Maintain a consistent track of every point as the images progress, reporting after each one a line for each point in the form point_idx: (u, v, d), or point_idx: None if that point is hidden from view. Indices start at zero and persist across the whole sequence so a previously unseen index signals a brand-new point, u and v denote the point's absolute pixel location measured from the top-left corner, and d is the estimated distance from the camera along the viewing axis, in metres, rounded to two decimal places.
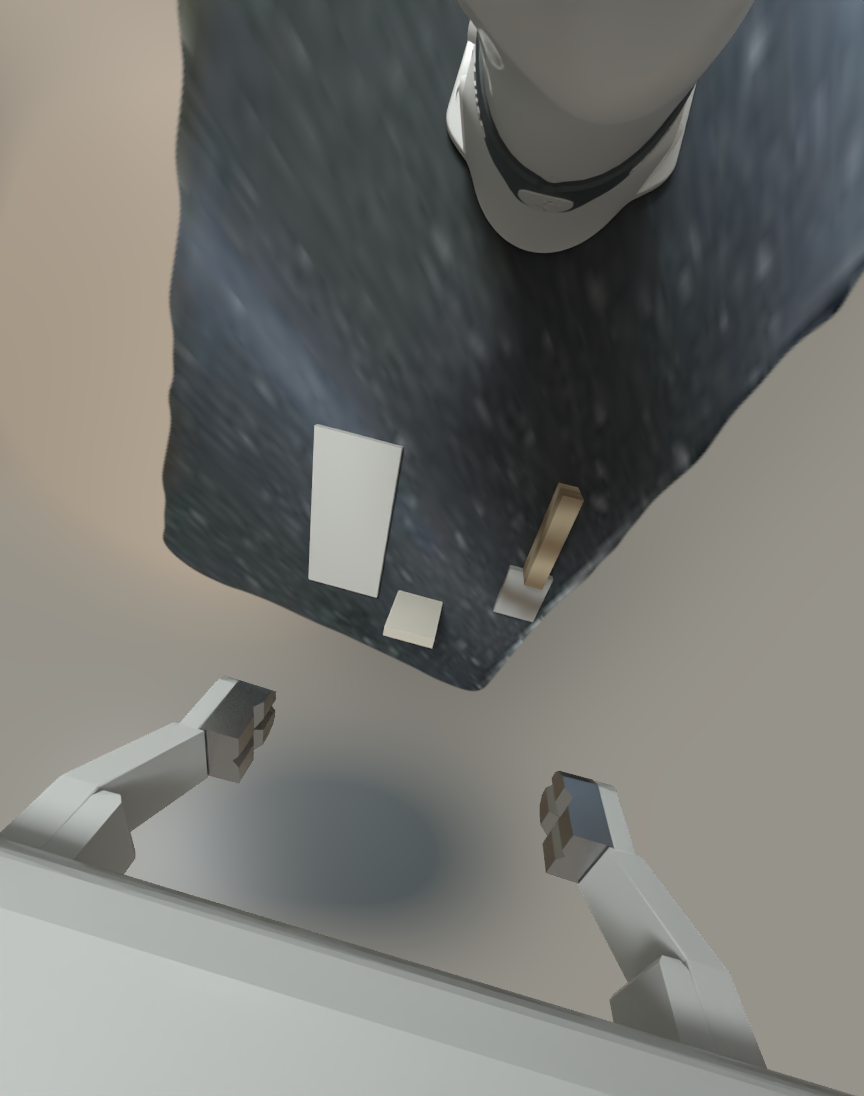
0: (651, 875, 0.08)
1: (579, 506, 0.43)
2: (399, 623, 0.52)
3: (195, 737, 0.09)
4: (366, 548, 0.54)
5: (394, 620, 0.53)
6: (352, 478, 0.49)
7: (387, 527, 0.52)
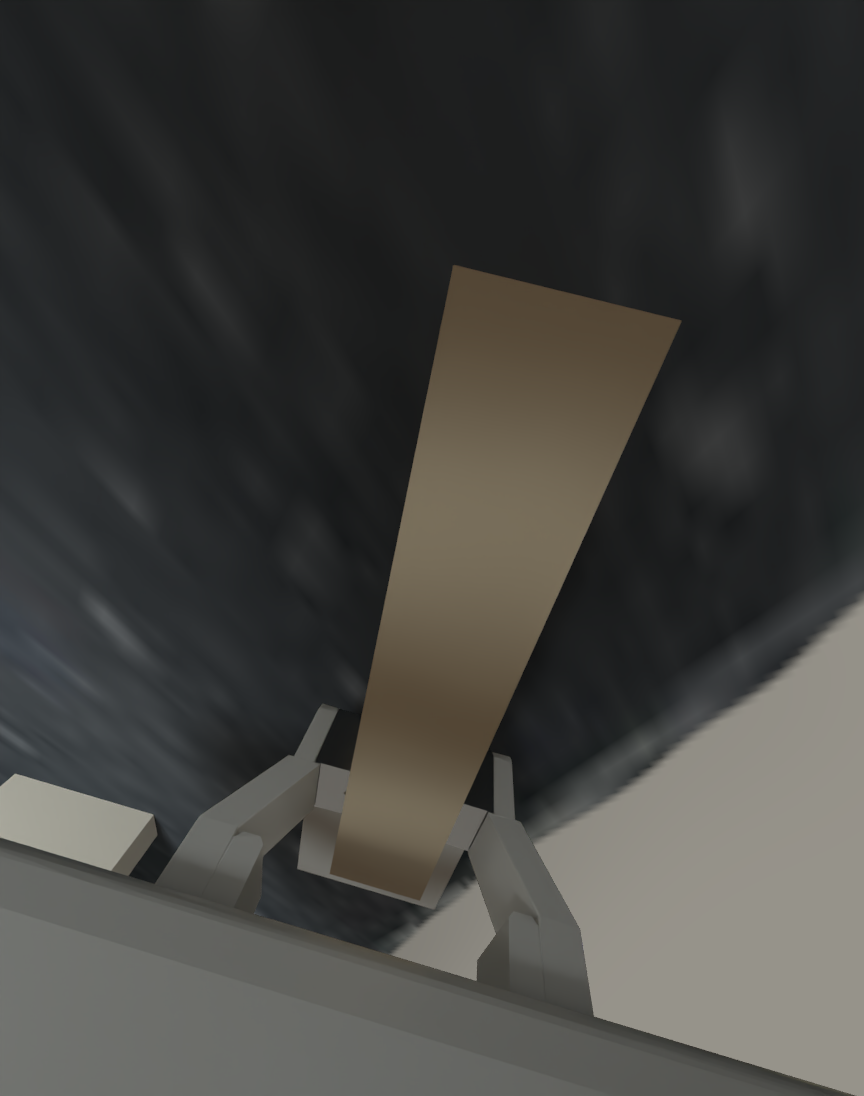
0: (527, 839, 0.08)
1: (629, 395, 0.04)
2: None
3: (311, 771, 0.09)
4: None
5: None
6: None
7: None
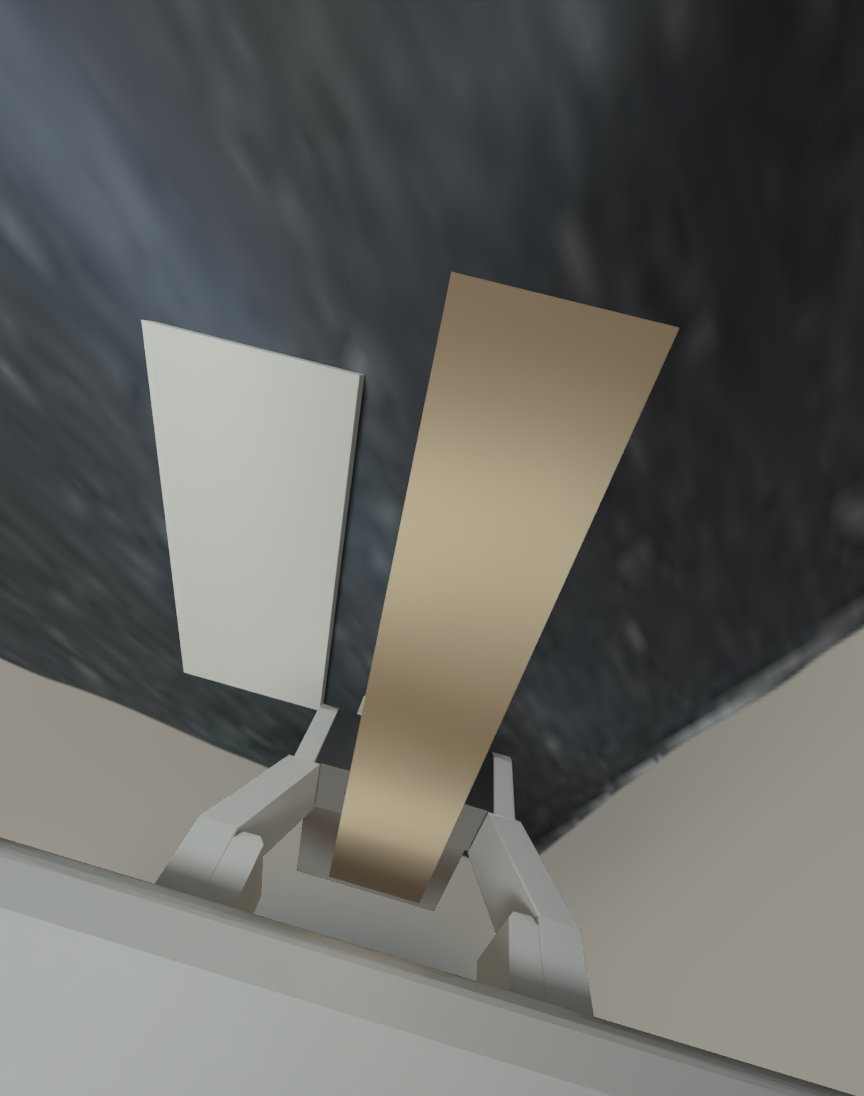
0: (527, 839, 0.08)
1: (627, 401, 0.04)
2: None
3: (311, 771, 0.09)
4: (292, 615, 0.25)
5: None
6: (247, 458, 0.21)
7: (333, 572, 0.23)
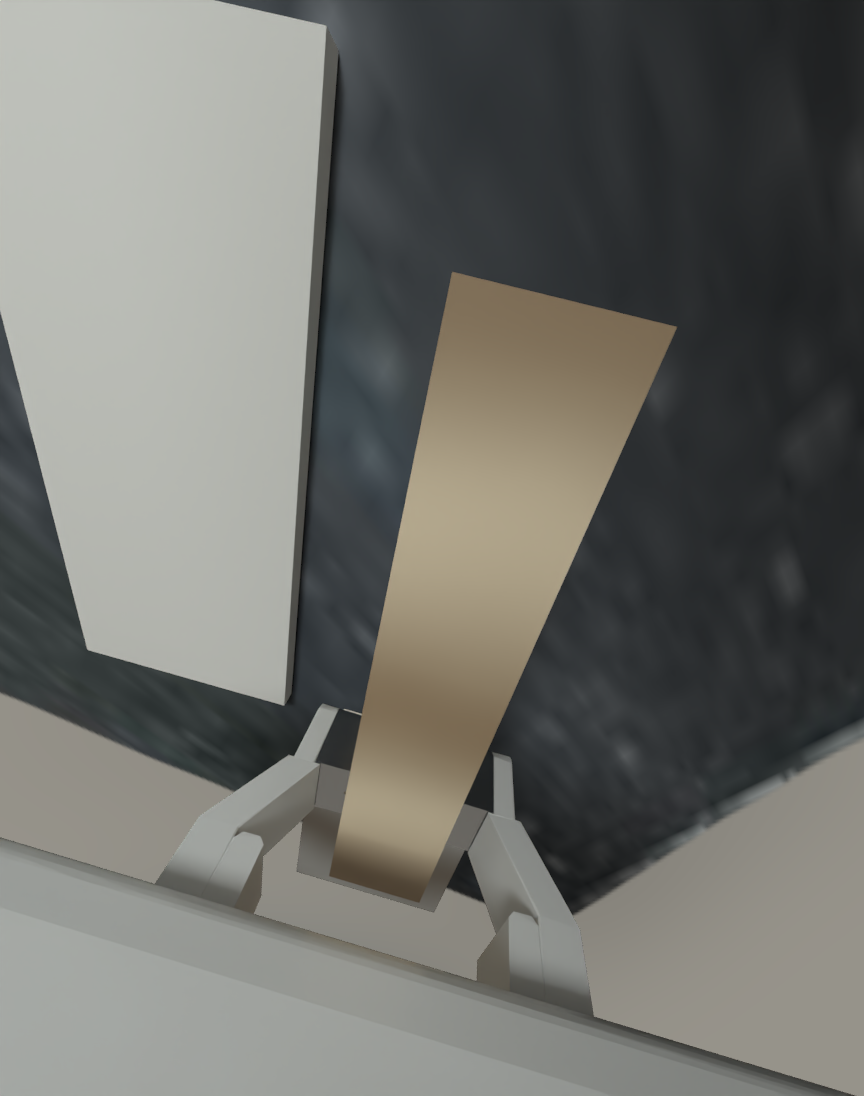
0: (527, 839, 0.08)
1: (625, 400, 0.04)
2: None
3: (311, 771, 0.09)
4: (234, 553, 0.16)
5: None
6: (135, 251, 0.12)
7: (295, 473, 0.14)
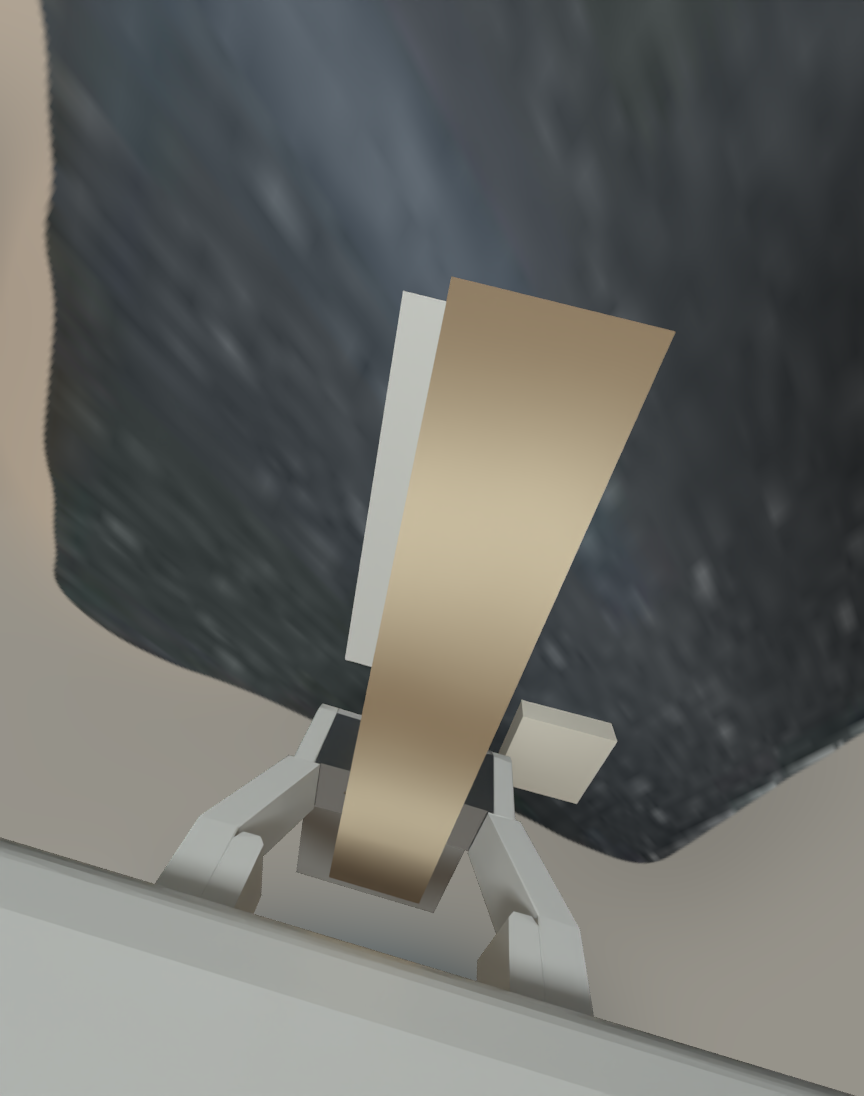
0: (527, 839, 0.08)
1: (624, 404, 0.04)
2: (519, 778, 0.31)
3: (311, 771, 0.09)
4: None
5: None
6: None
7: None
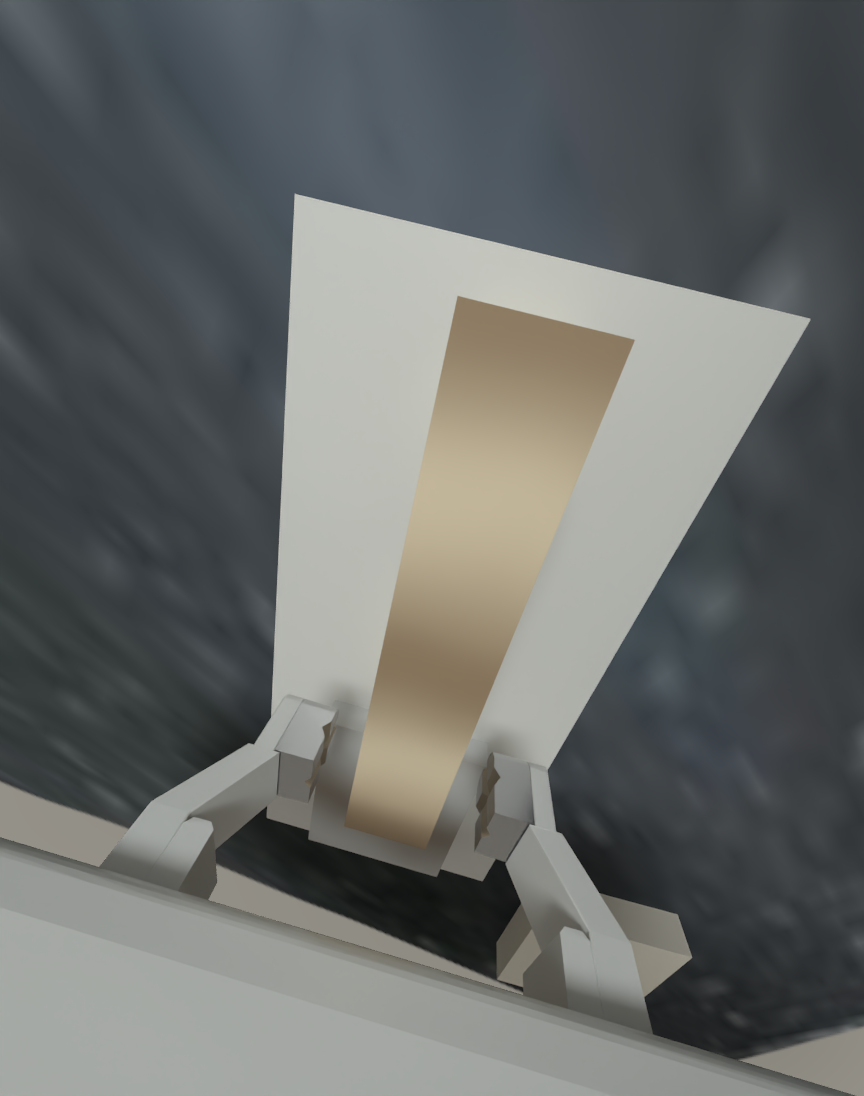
0: (569, 851, 0.08)
1: (596, 397, 0.05)
2: None
3: (271, 759, 0.09)
4: None
5: (522, 974, 0.21)
6: None
7: (583, 699, 0.13)
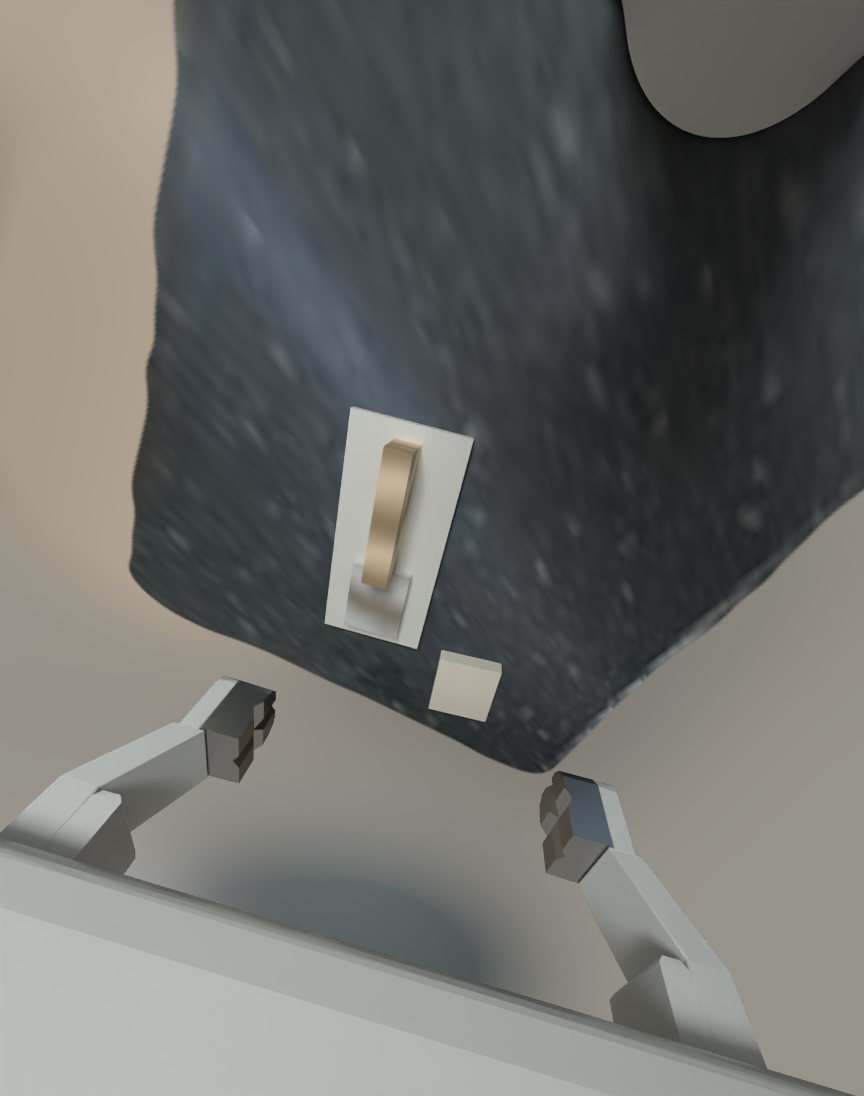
0: (651, 876, 0.08)
1: (408, 463, 0.30)
2: (444, 705, 0.45)
3: (195, 737, 0.09)
4: None
5: (438, 702, 0.45)
6: None
7: (441, 552, 0.38)
